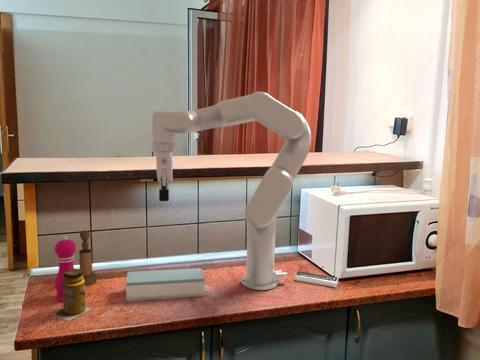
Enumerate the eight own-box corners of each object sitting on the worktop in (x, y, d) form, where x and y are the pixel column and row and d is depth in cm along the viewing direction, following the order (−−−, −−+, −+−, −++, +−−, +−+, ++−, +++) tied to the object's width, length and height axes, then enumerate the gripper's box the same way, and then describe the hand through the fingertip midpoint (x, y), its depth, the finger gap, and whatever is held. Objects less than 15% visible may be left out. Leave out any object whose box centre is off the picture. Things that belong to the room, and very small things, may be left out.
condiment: (92, 308, 124) (90, 270, 122) (69, 321, 116) (67, 280, 114) (74, 303, 127) (72, 265, 125) (50, 315, 120) (48, 275, 118)
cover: (201, 270, 142) (201, 268, 142) (204, 280, 133) (204, 278, 133) (127, 274, 137) (127, 271, 137) (126, 285, 128) (126, 282, 128)
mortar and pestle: (96, 285, 140) (94, 233, 137) (75, 287, 138) (73, 234, 135) (96, 277, 146) (95, 227, 143) (77, 279, 144) (74, 228, 141)
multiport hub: (297, 276, 153) (297, 270, 152) (338, 283, 148) (338, 277, 147) (294, 281, 149) (294, 275, 148) (336, 288, 143) (336, 282, 143)
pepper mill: (71, 303, 127) (68, 239, 123) (49, 301, 128) (46, 237, 125) (84, 293, 134) (82, 232, 130) (64, 291, 135) (61, 231, 132)
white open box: (201, 284, 143) (201, 270, 142) (204, 296, 134) (204, 281, 133) (128, 288, 138) (127, 274, 137) (126, 301, 129) (126, 285, 128)
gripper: (176, 150, 136) (176, 205, 139) (173, 145, 151) (173, 196, 154) (152, 149, 135) (153, 205, 138) (152, 145, 149) (152, 196, 152)
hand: (164, 200), depth 146 cm, fingers closed
